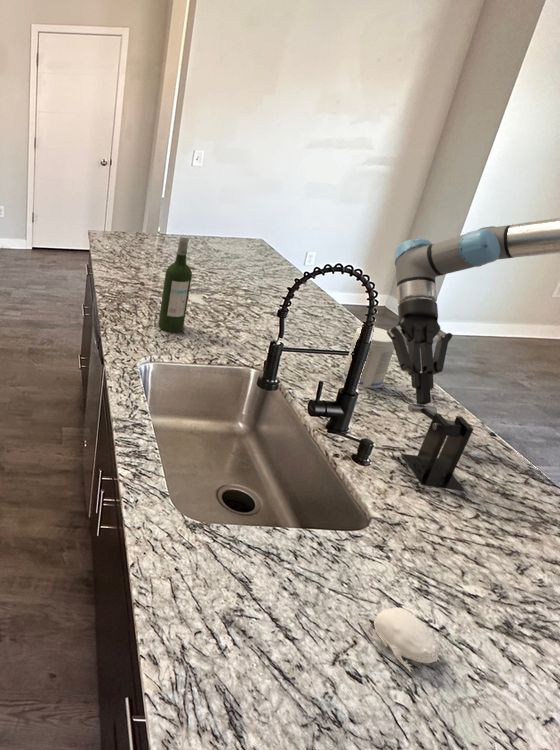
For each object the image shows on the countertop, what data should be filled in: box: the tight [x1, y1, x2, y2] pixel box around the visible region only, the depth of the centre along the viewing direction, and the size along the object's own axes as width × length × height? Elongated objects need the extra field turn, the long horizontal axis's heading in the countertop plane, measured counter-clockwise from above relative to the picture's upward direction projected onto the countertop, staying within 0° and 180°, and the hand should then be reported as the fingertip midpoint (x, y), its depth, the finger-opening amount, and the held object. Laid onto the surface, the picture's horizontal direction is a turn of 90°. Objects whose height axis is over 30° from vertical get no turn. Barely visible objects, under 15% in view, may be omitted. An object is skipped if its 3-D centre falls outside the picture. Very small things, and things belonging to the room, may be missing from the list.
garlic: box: [373, 607, 442, 673], centre depth 77 cm, size 8×7×4 cm
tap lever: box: [407, 403, 462, 437], centre depth 112 cm, size 13×5×2 cm, turn 170°
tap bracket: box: [400, 412, 474, 492], centre depth 109 cm, size 10×8×14 cm
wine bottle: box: [158, 235, 193, 333], centre depth 167 cm, size 8×8×30 cm
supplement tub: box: [342, 326, 395, 389], centre depth 143 cm, size 10×10×15 cm
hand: (423, 403), depth 117 cm, fingers closed
